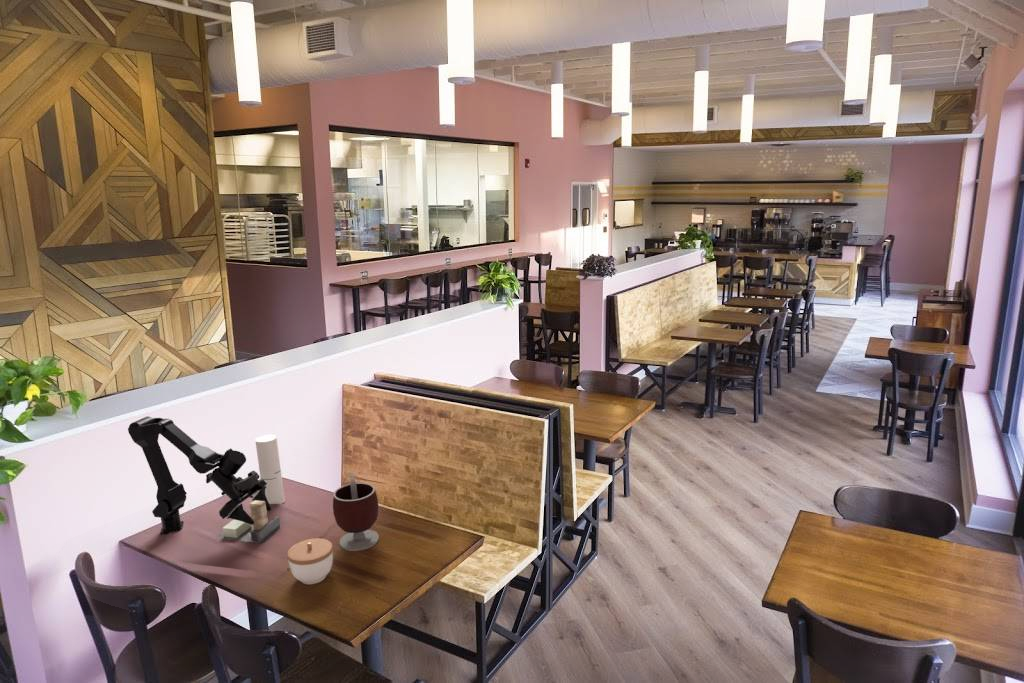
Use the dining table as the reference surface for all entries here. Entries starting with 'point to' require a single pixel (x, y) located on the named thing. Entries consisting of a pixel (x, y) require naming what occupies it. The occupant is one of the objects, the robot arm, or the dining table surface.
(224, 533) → the offcut lower
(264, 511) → the birch board
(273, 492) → the cylindrical container
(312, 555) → the lidded bowl
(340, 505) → the mate gourd
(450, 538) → the dining table surface
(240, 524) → the offcut upper
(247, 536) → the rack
